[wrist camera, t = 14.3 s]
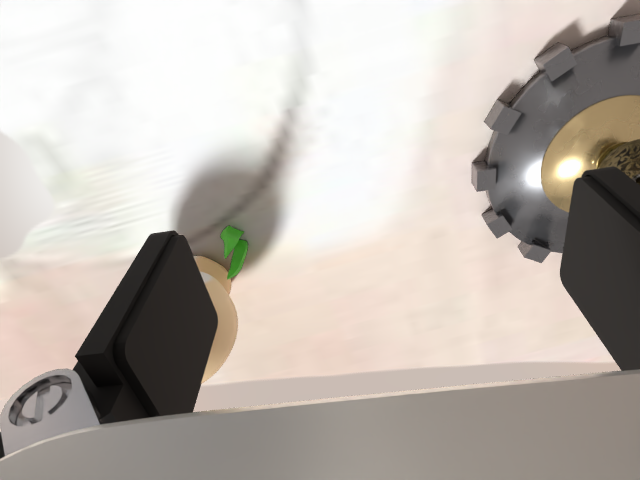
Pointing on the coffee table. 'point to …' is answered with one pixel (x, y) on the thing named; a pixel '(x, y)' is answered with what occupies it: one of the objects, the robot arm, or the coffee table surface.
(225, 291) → the kitten
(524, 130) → the gear
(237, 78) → the coffee table surface
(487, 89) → the coffee table surface
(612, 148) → the cup
